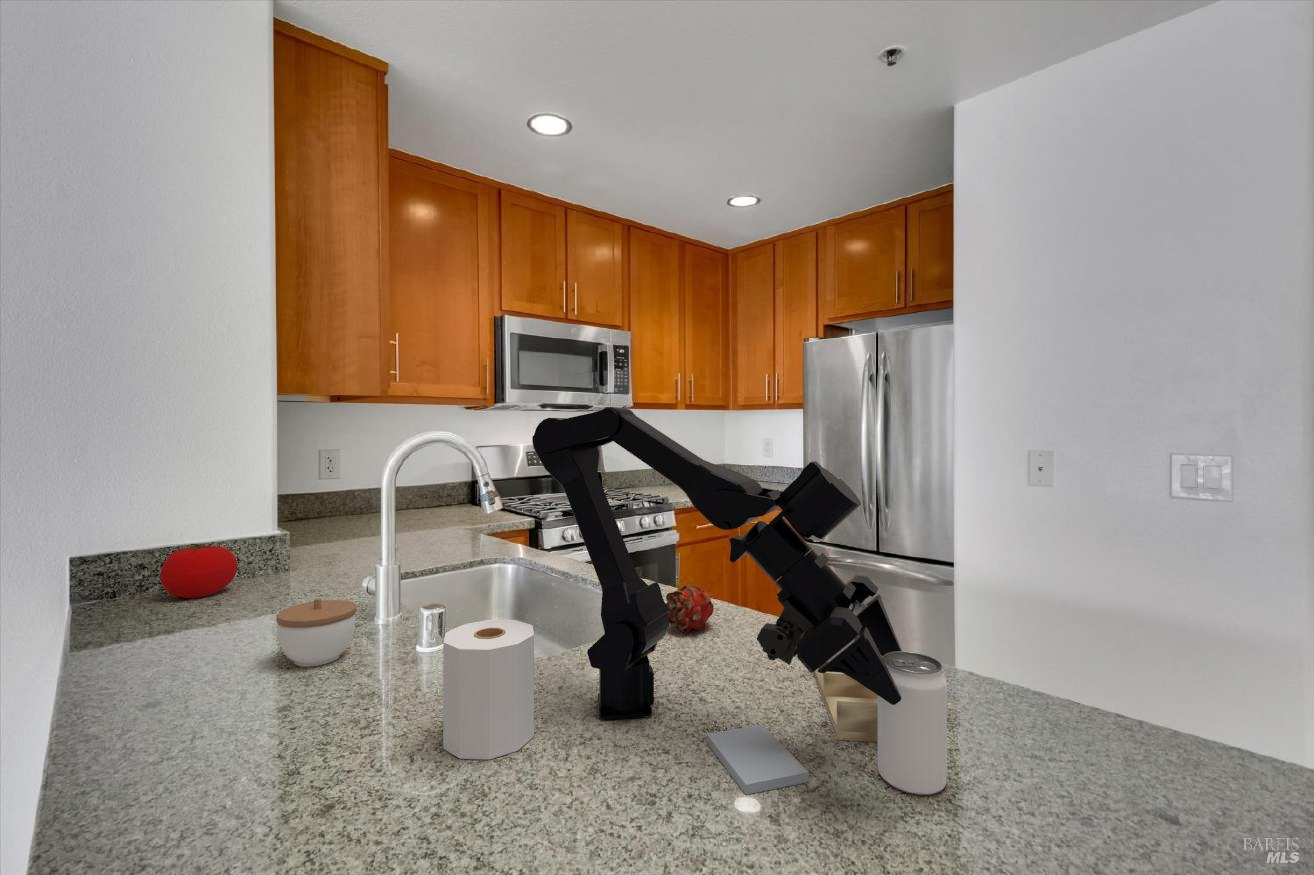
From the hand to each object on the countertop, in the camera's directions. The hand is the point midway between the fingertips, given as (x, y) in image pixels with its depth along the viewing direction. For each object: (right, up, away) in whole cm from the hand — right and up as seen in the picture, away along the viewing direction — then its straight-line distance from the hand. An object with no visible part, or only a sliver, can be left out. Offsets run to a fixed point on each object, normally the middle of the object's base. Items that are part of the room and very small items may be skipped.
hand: (901, 683), depth 60 cm
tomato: (-124, -9, +66) cm, 141 cm away
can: (+1, -10, 0) cm, 10 cm away
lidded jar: (-78, -9, +31) cm, 84 cm away
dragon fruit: (-19, -9, +45) cm, 50 cm away
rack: (+2, -9, +16) cm, 19 cm away
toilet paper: (-45, -10, +8) cm, 46 cm away
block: (-15, -9, +3) cm, 18 cm away
